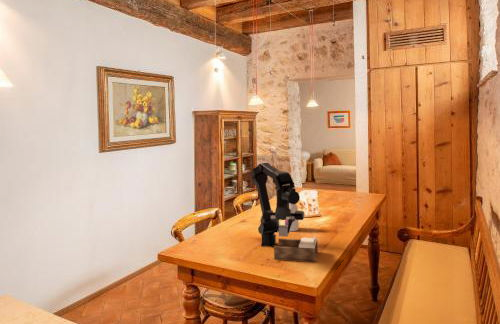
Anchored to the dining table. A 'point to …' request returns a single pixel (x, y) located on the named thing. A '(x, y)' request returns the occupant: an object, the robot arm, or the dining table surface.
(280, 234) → the block
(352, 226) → the dining table surface
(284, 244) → the box
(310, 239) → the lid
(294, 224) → the milk bottle
